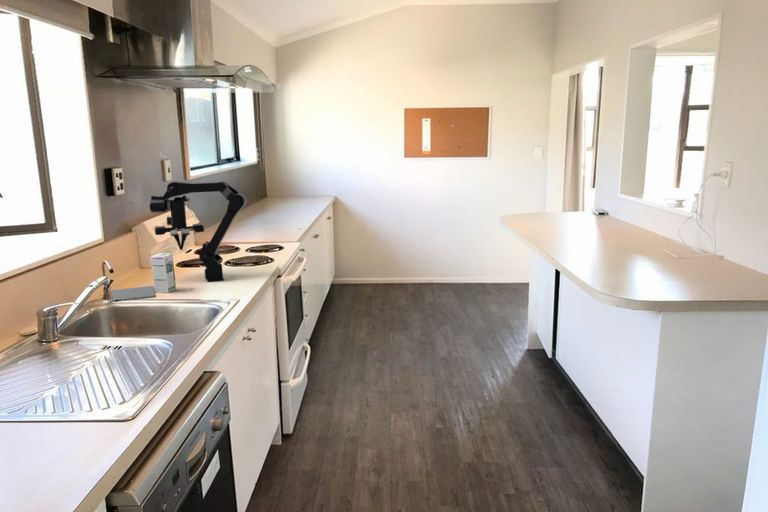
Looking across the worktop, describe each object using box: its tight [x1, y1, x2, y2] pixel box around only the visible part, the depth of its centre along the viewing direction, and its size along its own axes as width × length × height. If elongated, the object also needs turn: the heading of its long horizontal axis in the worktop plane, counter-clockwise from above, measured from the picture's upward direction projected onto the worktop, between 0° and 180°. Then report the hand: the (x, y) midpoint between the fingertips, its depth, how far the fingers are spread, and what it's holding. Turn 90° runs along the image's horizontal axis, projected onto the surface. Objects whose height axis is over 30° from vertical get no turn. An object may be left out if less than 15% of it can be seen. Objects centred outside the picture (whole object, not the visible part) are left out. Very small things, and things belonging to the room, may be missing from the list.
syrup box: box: [150, 252, 177, 294], centre depth 214 cm, size 6×6×14 cm
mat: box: [107, 285, 156, 302], centre depth 211 cm, size 16×16×1 cm
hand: (181, 249), depth 230 cm, fingers closed
